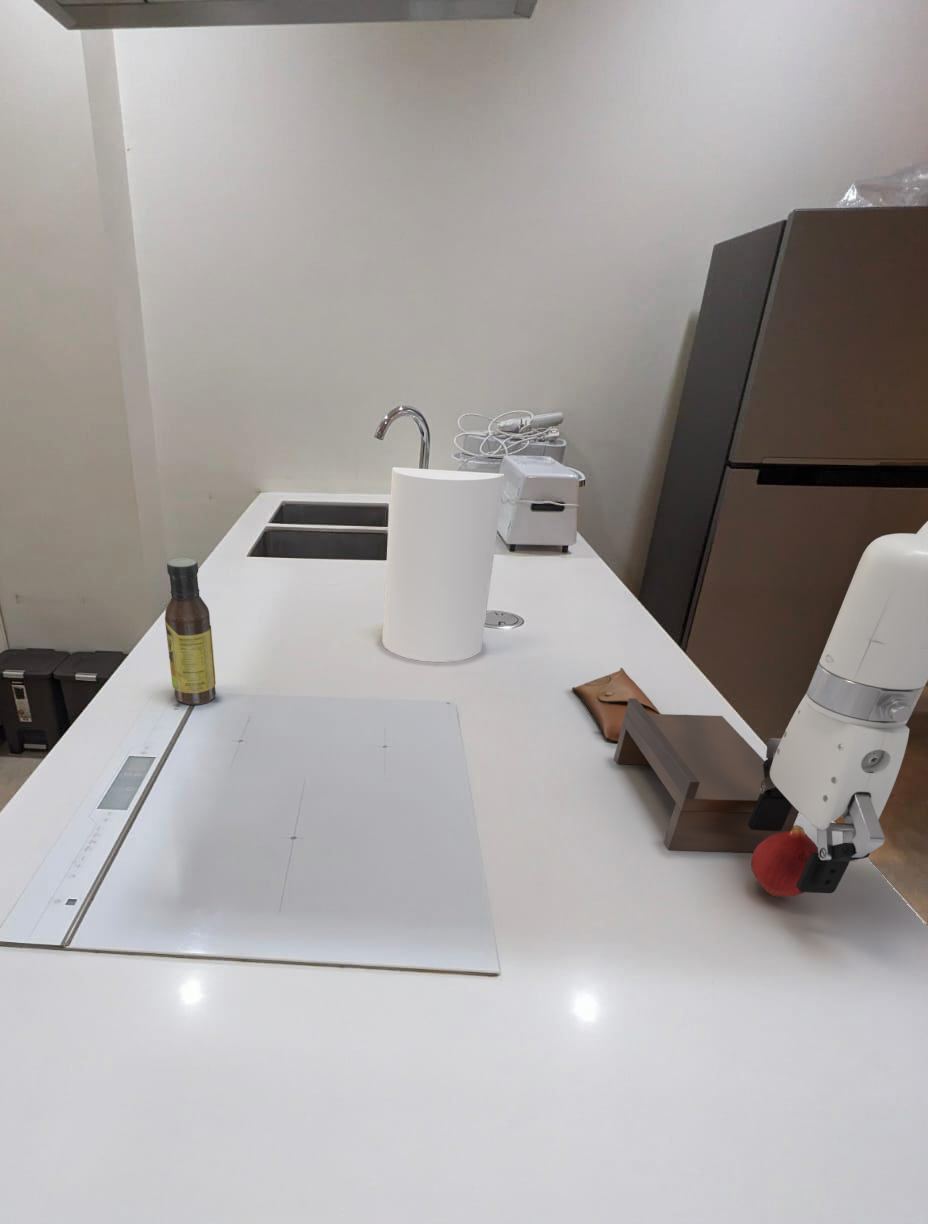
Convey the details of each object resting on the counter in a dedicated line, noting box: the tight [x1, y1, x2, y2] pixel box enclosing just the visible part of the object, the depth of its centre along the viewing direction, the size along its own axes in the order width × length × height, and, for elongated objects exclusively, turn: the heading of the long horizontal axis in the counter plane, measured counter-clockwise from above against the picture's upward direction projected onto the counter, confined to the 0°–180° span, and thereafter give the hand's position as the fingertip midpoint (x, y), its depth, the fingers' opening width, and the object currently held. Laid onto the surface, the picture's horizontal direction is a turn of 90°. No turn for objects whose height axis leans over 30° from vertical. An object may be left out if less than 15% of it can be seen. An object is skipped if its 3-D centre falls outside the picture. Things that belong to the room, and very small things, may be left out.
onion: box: [750, 824, 818, 898], centre depth 72 cm, size 6×6×8 cm
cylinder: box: [381, 466, 506, 663], centre depth 123 cm, size 17×17×28 cm
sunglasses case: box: [571, 667, 661, 743], centre depth 107 cm, size 18×7×7 cm
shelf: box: [613, 698, 800, 853], centre depth 86 cm, size 12×20×8 cm, turn 178°
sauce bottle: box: [164, 557, 217, 706], centre depth 105 cm, size 6×6×20 cm
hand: (787, 858), depth 71 cm, fingers open, 9 cm apart
